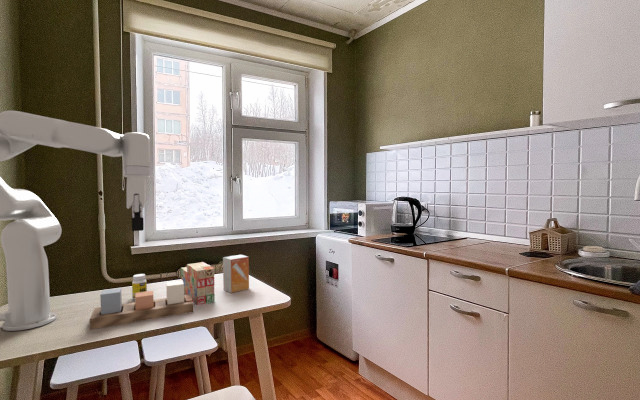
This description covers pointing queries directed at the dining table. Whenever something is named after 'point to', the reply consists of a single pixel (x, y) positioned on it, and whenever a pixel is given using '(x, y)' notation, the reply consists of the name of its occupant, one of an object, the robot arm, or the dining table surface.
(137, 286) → the supplement bottle
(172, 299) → the button cream
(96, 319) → the button board
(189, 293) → the stack of blocks
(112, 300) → the button slate
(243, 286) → the small box
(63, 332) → the dining table surface
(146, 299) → the peach block
